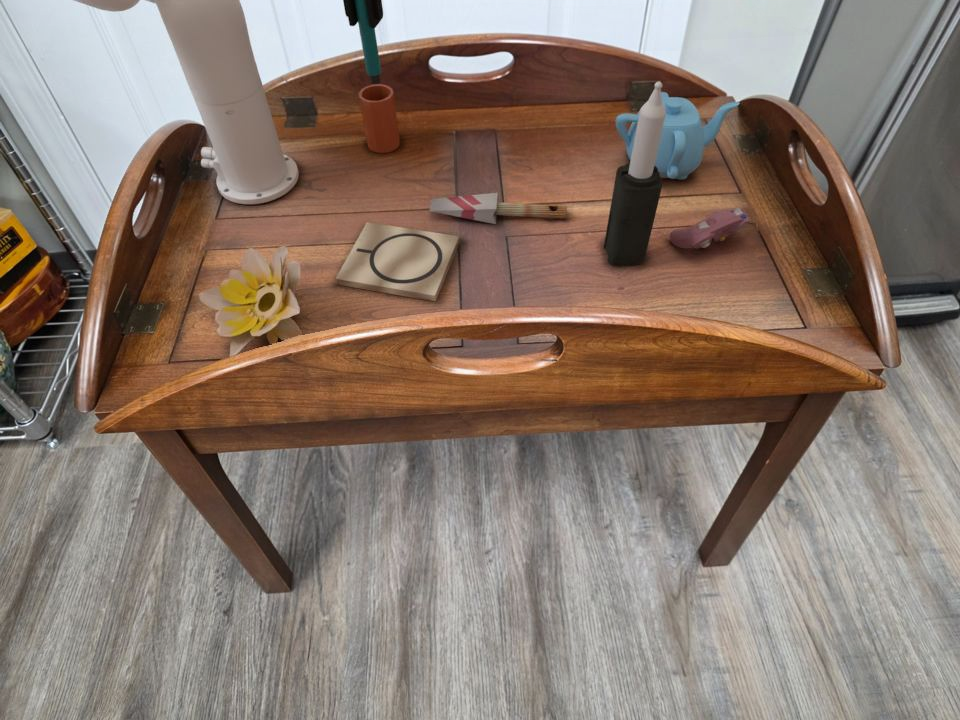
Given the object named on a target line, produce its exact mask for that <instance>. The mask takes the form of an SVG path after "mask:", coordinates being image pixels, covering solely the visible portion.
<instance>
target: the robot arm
mask: <svg viewBox="0 0 960 720" xmlns="http://www.w3.org/2000/svg"><path fill="white" fill-rule="evenodd" d="M73 1H74V2H78V3H80V4H82V5H83V4H84V5H86V6H89V7H92V8H95V9H98V10H101V11H107V12H113V13H115V12H124V11H128V10H130V9H133V7H135V6H136V5H137V4H139V2H140V1H141V0H73ZM145 1H146V2H150V3H152V4H155V5H156V7H157V9H158V11H159V14H160V17H161V20H162V23H163V24H164V27H165V30H166V32H167V34H168V37H169V39H170V41H171V45H172V47H173V49H174V51H175V54H176V57H177V60H178V62H179V65H180V67H181V71H182V73H183V75H184V77H185V81H186V83H187V86H188V88H189V90H190V93H191V95H192V97H193V100H194V104H195V105H196V107H197V111H198V112H199V115H200V118H201V120H202V123H203V125H204V128H205V130H206V133H207V136H208V139H209V141H210V142H211V146H212V147H210V146H209V147H208V146H203V147H201V150H200V155H201V160H200V167H201V168H204V169H213V170H214V171H216V174H217V176H216V182H215V183H216V187H217V189H218V192H219V194H220V195H221V196H222V197H223V198H224V199H226V200H228V201H230V202H232V203H235V204H240V205H260V204H264V203H268V202H271V201H272V202H273V201H274V200H276V199H279V198H281V197H283V196H284V195H286V194H288V193H289V192H290V191H291V190H292V189H293V188H294V187H295V185H296V184H297V182H298V179H299V176H300V172H299V168H298V164H297V162H295V160H294V159H292V158H291V157H290V156H288V155H286V154H284V152H283V150H282V146H281V143H280V139H279V135H278V133H277V129H276V125H275V122H274V119H273V115H272V111H271V109H270V106H269V103H268V102H269V101H268V99H267V96H266V92H265V88H264V85H263V82H262V79H261V76H260V75H261V74H260V73H259V68H258V65H257V63H256V59H255V55H254V51H253V48H252V45H251V44H252V43H251V38H250V35H249V30H248V24H247V19H246V16H245V11H244V9H243V7H242V2H241V0H145ZM342 2H343V8H344V14H345V16H346V17H347V19H348V24H349V26H350V27H355V26H356V25H357V24H358V18H357V13H356V7H355V1H354V0H342ZM366 7H367V13H368V20H369V26H370V27H371V28H375V29H376V28H377V26H378V25H379V24H380V22H381V21H382V19H383V18H384V8H383V1H382V0H366Z"/></svg>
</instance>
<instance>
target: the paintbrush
mask: <svg viewBox="0 0 960 720" xmlns="http://www.w3.org/2000/svg"><path fill="white" fill-rule="evenodd" d="M429 212H433V213H438V214H443V215H447V216H453V217H457V218H463V219H467V220H472V221H478V222H483V223H487V224H492V225H497V216H504V217H505V216H509V217H525V218H527V217H528V218H531V217H532V218H543V219H546V218H548V219H552V218H553V219H561V220H562V219H567V216H568V215H567V214H568V207H567V205H551V204H531V203H519V202H518V203H516V202H503V201H502V202H501V201H500V202H499V201H498V192H491V193H478V194H470V195H457V196H448V197H440V198H431V199H430V205H429Z"/></svg>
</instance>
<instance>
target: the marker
mask: <svg viewBox="0 0 960 720" xmlns="http://www.w3.org/2000/svg"><path fill="white" fill-rule="evenodd" d="M354 1H355V7H356V13H357V18H358V22H357V24H358V29H359V35H360V42H361V47H362V53H363V58H364V59H363V60H364V64H365V70H366V74H367V75H368V77H369V82H370V84H371V85H374V84H381V82H382V81H381V75H380V74H381V73H382V67H381V60H380V55H379V48H378V41H377V35H376V28H371V27H370V26H369V20H368V13H367V7H366V0H354Z"/></svg>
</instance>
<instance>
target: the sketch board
mask: <svg viewBox="0 0 960 720" xmlns="http://www.w3.org/2000/svg"><path fill="white" fill-rule="evenodd" d="M460 243H461V242H460V236H459V235H453V234H447V233H441V232H434V231H428V230H422V229H421V230H420V229H414V228H408V227H401V226H394V225H388V224H384V223H383V224H381V223H375V222H371V221H370V222H369V221H367V222H366V223H365V225H364V226H363V228H362V229H361V232H360V233H359V236H358V237H357V239H356V241H355V243H354V244H353V247H352V248H351V249H350V252H349V253H348V255H347V257H346V259H345V261H344V262H343V264H342V266H341V268H340V269H339V271H338V273H337V275H336V276H335V282H336V285H337V286H343V287H349V288H353V289H354V288H355V289H359V290H366V291H373V292H376V293H377V292H378V293H385V294H389V295H395V296H400V297H401V296H402V297H407V298H412V299H419V300H424V301H429V302H437V299H438V297H439V294H440V293H441V289H442V287H443V284H444V282H445V280H446V277H447V275H448V272H449V270H450V267H451V265H452V263H453V260H454V257H455V255H456V252H457V250H458V247H459V245H460Z"/></svg>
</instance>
